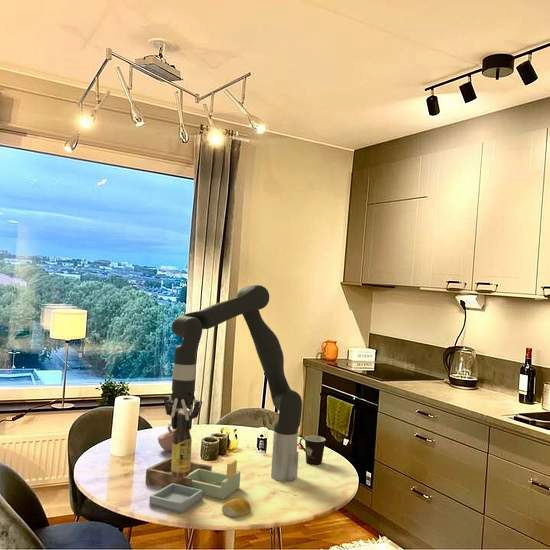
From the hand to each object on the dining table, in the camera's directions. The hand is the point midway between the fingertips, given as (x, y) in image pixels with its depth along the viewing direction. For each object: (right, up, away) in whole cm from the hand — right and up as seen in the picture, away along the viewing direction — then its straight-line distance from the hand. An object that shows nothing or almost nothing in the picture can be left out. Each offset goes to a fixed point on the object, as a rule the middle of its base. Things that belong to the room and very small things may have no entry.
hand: (181, 429), depth 171 cm
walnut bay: (-4, -24, +17) cm, 30 cm away
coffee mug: (+46, -28, +47) cm, 72 cm away
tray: (-1, -24, -1) cm, 24 cm away
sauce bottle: (0, -15, 0) cm, 15 cm away
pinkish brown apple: (-13, -24, +50) cm, 57 cm away
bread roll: (+18, -25, -5) cm, 31 cm away
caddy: (+8, -24, +12) cm, 28 cm away
